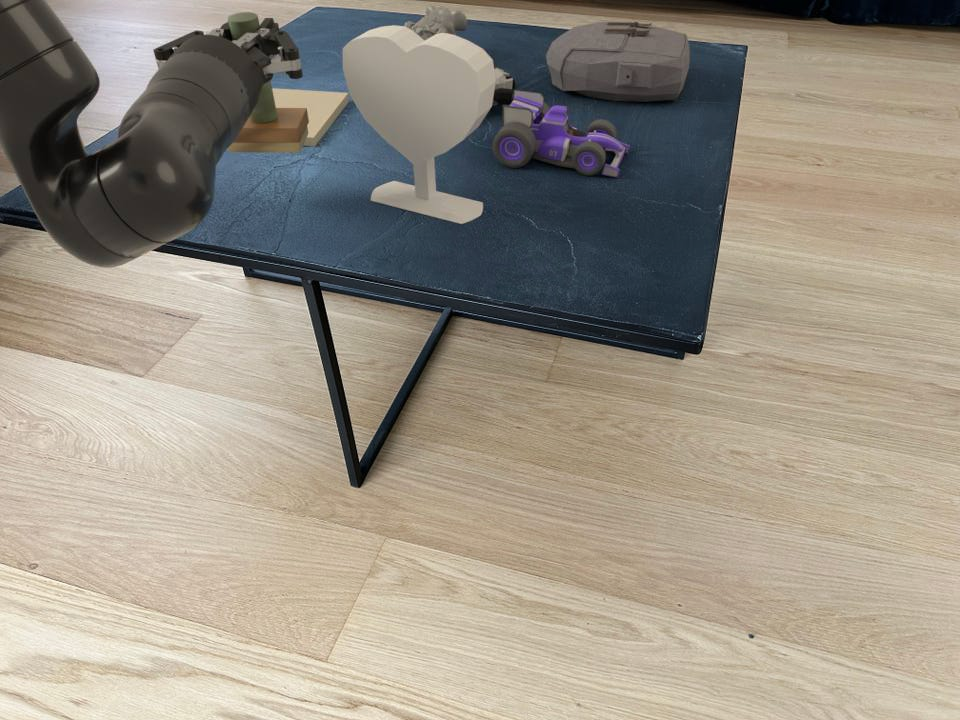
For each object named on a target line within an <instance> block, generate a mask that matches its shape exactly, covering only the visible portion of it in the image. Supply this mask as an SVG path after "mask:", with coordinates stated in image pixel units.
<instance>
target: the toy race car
mask: <svg viewBox="0 0 960 720" xmlns="http://www.w3.org/2000/svg"><path fill="white" fill-rule="evenodd" d="M513 94H514V99H513V100H512V103H511V104H510V105H508V104H502V127H500V130H499V131H498V132H497V133H496V135H495V136H494V138H493V140H492V153H493V156H494V157H495V158H496V159H497V161H498V162H499V163H500V164H501V165H502V166H505V167H507V168H511V169H518V168H522V167H524V166H525V165H527V164H528V162H529V161H530V160H531V158H532V157H533V158H532V159H535V160H537V161H540V162H544V163H547V164H551V165H554V166H557V167H562V168H570V169H575V170H576V172H578V173H579V174H580V175H583V176H589V177H590V176H594V175H597V174H599V172H600V171H601V170H602V171H601V175H602V176H608V177H613V178H619V176H620V172H621V171H620V170H621V169H620V168H619V166H620V164H621V163H622V160H623V158H624V156H625V154H629V153H630V151H631V150H630V149H631V144H630V145H629V144H627V143H624V142H623V141H619V140H618V139H617V135H618V133H617V132H618V131H617V129H616V127H615V125H614V124H613V123H612V122H610V121H609V120H607V119H603V118H602V119H601V118H600V119H599V118H598V119H596V120H593V121H592V122H591V123H590V124H589V125H588V127H587V129H586V131H584V130H579V129H578V128H577V127H574V126H572V125H570V123H569V115H568V106H565V105H558V104H557V105H553V106H551V107H550V106H549V105H548V104H547V103H546V102H545V97H544V95H543V94H542V93H541V92H536V91H535V92H534V91H526V90H518V89H514V90H513ZM609 151H610V152H613V153H614V154H615V156H614V158H613V160H612V162H611V163H610V164H608V163H605V162H606V159H607V157H606V155H607V152H609Z"/></svg>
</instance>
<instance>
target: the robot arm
mask: <svg viewBox="0 0 960 720" xmlns="http://www.w3.org/2000/svg"><path fill="white" fill-rule="evenodd" d="M259 25H260V26H259V27H258V29H257V31H256V32H255V33H246V34H244V35H243V36H242V37H241V38H240V39H238V40H232V36H231V31H230V27H229V22H228V21H227V22H225V23H222V25H221V26H220V27H216V28H213V29H211V30H210V32H207V33H205V34H204V31H202V30H193V31H191V32H189V33H186V34H185V35H182V36H180V37H178V38H176V39H173V40H171V41H169V42H167V43H164V44H162V45H160V46H157V47H155V48H153V51H152V52H153V54H154V58H155V61H156V65H157V69H158V70H157V71H156V72H155V73H154V74H153V76H152V77H151V78H150V80H149V82H148V84H147V86H146V88H145V90H144V91H143V92H142V93H141V94H140V96H138V97H137V99H136V100H134V102H133V103H132V104H131V105H130V107H129V108H128V110H127V111H126V112H125V114H124V115H123V117H122V119H121V121H120V123H119V126H118V130H117V133H116V134H117V135H116V139H115V140H113V141H111V142H109V143H108V144H106V145H105V146H103V147H101V148H99V149H97V150H96V151H94V152H91V153H90V154H89V153H88V152H87V149H86V147H85V144H84V142H83V138H82V137H81V134H80V133H81V132H80V130H79V127H78V118H79V116H80V115H81V114H82V112H83V111H84V110H85V109H86V108H87V107H88V106H89V105H90V103H91V102H92V101H93V100H94V99H95V98H96V96H97V94H98V92H99V91H100V86H101V80H100V76H99V74H98V71H97V70H96V68H95V66H94V65H93V63H92V61H91V60H90V58H89V57H88V56H87V54H86V53H85V51H84V50H83V49H82V47H81V45H79V43H78V42H77V41H75V40H74V39H75V38H74V37H73V35H72V34H71V32H70V31H69V30H68V28H67V27H66V26H65V24H64V23H63V22H62V20H61V19H60V17H59V16H58V14H57V13H55V11H54V9H53V8H52V7H51V5H50V4H49V3H48V1H47V0H0V147H1V149H2V151H3V154H4V156H5V157H6V159H7V161H8V163H9V165H10V166H11V168H12V170H13V173H14V174H15V176H16V178H17V180H18V182H19V184H20V186H21V188H22V190H23V193H24V194H25V196H26V198H27V200H28V202H29V204H30V206H31V208H32V210H33V213H35V215H36V217H37V219H38V220H39V222H40V224H41V226H42V227H43V229H44V230H45V231H46V232H47V235H49V236H50V238H51V239H52V240H53V241H54V242H55V243H56V245H58V246H59V247H60V248H61V249H63V250H64V251H65V252H67V253H68V254H69V255H71V256H72V257H74V258H76V259H77V260H79V261H81V262H83V263H85V264H88V265H90V266H94V267H97V268H104V269H109V268H110V269H111V268H116V267H120V266H123V265H125V264H127V263H129V262H131V261H134V260H136V259H138V258H140V257H142V256H144V255H146V254H148V253H149V252H152V251H153V250H156V249H158V248H160V247H162V246H163V245H165V244H168V243H169V242H172V241H174V240H176V239H178V238H180V237H182V236H184V235H186V234H188V233H189V232H191V231H192V230H194V228H196V227H198V225H199V224H200V223H201V222H203V220H204V219H205V217H206V216H207V215H208V213H209V212H210V211H211V209H212V207H213V204H214V201H215V200H214V199H215V188H216V187H215V186H216V171H217V169H216V168H217V167H216V166H217V165H218V164H219V162H220V160H221V158H222V157H223V156H224V154H225V152H226V150H228V149H227V148H228V147H229V146H230V145H231V144H232V143H233V142H234V141H235V139H236V138H237V136H238V135H239V133H240V132H241V130H242V128H243V127H244V125H245V123H246V121H247V120H248V118H249V116H250V115H251V113H252V111H253V110H254V108H255V106H256V105H257V103H258V100H259V97H260V94H261V89H262V85H263V84H265V83H267V82H269V81H270V80H271V81H272V79H273V78H274V74H278V73H279V74H280V73H281V74H282V75H283V76H288V77H289V79H291V80H299V79H301V78H303V77H304V75H303V69H302V63H301V57H300V51H299V47H298V46H297V45H296V44H295V42H294V40H293V39H292V38H291V36H290V34H289V33H288V32H287V31H286V30H280V26H279V23H278V22H275V20H274V18H273V17H265V18H264V19H263V20H262V21H261V23H259Z"/></svg>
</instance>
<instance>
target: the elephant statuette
mask: <svg viewBox="0 0 960 720" xmlns="http://www.w3.org/2000/svg"><path fill="white" fill-rule="evenodd" d="M403 26H404V27H407V28H409V29H411V30H412V31H414V32H415V33H416V34H417V35H419V36H420V37H421V38H422V39H423V40H424V41H425V40H427V39H429V38H430V37H432V36H434V35H435V34H439V33H447V34H452V35H456V36H457V32H465V31H466V29H467V27H468V18H467V16H466V13H464V11H462V10H460V9H454V10H451V9H449V8H446V7H445V8H444V7H435V6H433V5H431V4H428V5H427V6H426V10H425V15H424V16H422V17H421V19H419V20H418V21H417V22H413V21H411V20H408V21H406V22H405V23H404V25H403ZM456 31H457V32H456Z"/></svg>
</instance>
